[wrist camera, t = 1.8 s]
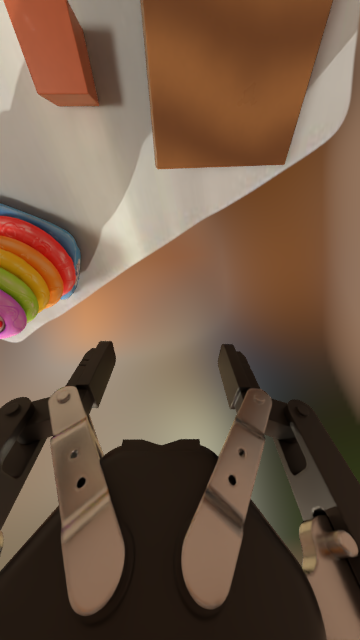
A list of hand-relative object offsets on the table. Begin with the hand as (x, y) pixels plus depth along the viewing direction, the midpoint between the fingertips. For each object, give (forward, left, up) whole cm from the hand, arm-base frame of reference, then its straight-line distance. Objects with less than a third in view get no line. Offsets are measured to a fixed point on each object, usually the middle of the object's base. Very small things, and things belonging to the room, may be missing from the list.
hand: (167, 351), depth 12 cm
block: (-18, +4, -23) cm, 29 cm away
